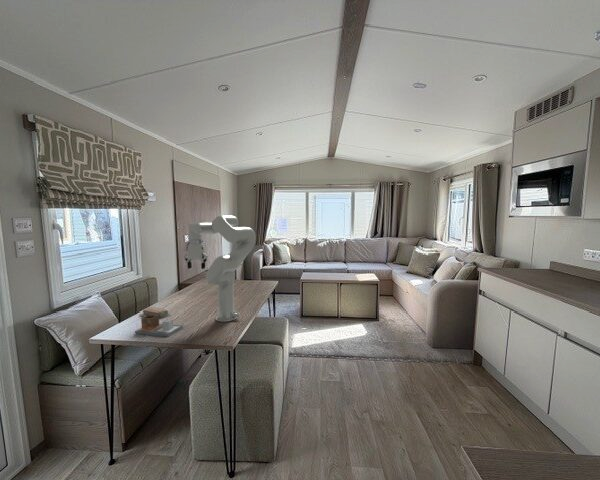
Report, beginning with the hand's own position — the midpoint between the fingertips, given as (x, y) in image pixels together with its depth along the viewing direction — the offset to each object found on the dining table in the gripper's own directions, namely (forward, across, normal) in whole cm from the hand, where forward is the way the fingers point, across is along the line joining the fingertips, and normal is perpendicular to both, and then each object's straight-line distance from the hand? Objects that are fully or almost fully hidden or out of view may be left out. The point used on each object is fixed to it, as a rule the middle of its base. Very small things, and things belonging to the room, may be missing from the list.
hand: (196, 268), depth 191 cm
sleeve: (+27, +7, +35) cm, 45 cm away
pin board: (+28, +2, +35) cm, 45 cm away
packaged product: (+29, +22, +12) cm, 39 cm away
